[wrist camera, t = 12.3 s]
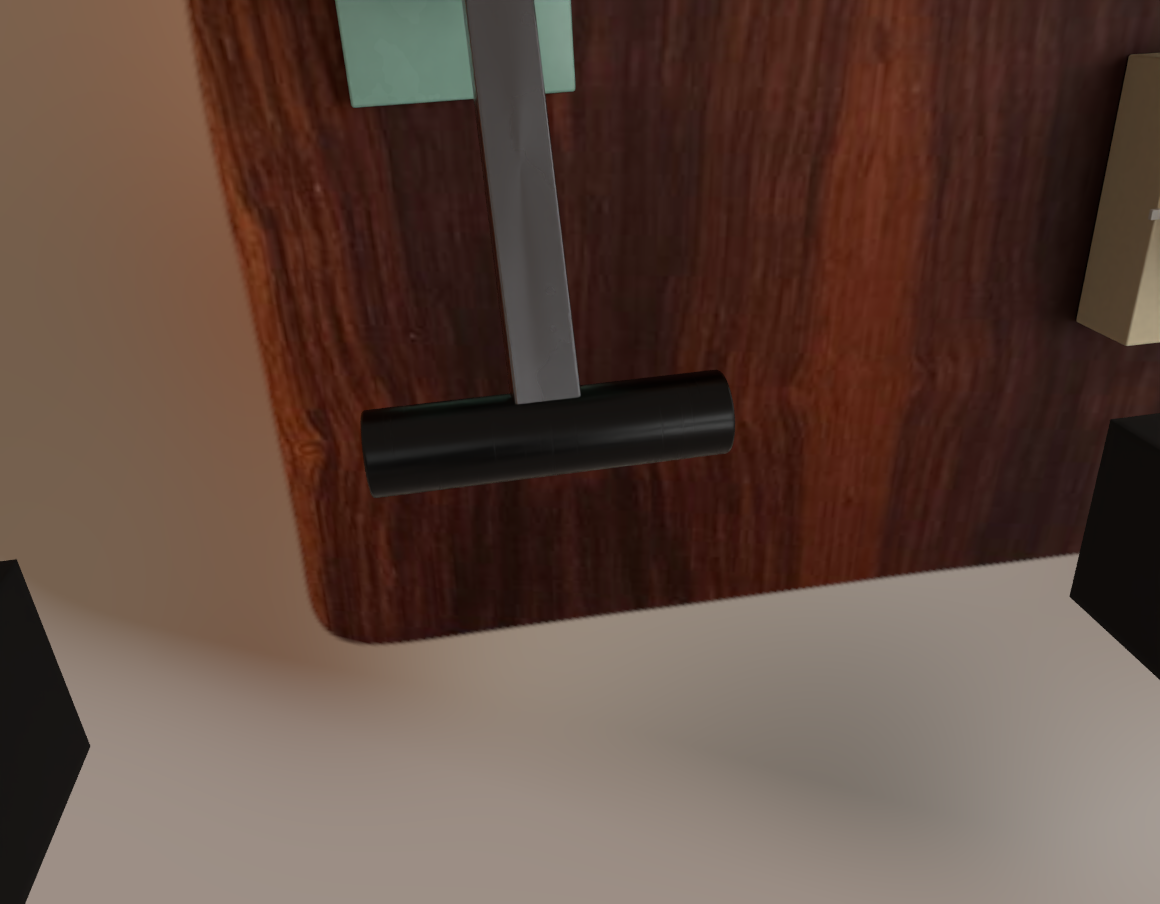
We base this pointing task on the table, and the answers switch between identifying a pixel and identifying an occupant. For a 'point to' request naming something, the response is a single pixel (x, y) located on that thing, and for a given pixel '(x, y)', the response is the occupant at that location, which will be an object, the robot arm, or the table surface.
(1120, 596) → the robot arm
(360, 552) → the table surface
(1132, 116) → the dial panel
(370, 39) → the green lever stand
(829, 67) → the table surface
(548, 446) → the lever handle
